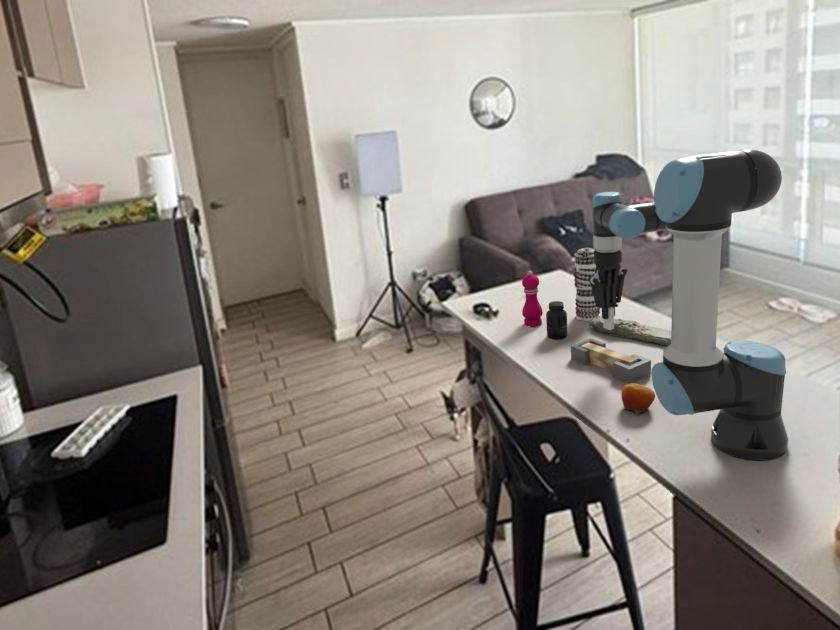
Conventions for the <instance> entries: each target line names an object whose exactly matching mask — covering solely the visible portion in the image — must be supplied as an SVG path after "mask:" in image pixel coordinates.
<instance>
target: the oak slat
mask: <svg viewBox="0 0 840 630" xmlns="http://www.w3.org/2000/svg"><path fill="white" fill-rule="evenodd" d="M581 347H582V348H585V349H587V350H589V364H590V363H591V365H593V364H594V366H596V365H597V367H599V368H602V367H603V368H602V369H605V370H607V371H610V370H611V372H613V362H616V361H618V362H620V363H623V364H625V365H628V366H630V365H633V364H635V363H637V362H638V358H636V357H632V356H630V355H629V354H626V353H623V352H619V351H616V350H612V349H609V348H607V347H606V348H604V347H601V346H598V345H595V344H592V343H586V344H584V345H582V346H581Z"/></svg>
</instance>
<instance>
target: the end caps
mask: <svg viewBox="0 0 840 630" xmlns="http://www.w3.org/2000/svg"><path fill="white" fill-rule="evenodd" d="M586 343H592V344H595V345H598V346H601V347H604V348H607V345H606V343H605V342H603V341H600V340H597V339H594V338H592V337H591V338H587V339H585V340H582V341H580V342H577V343H574V344H573V345H572V344H571V345H570V360H572V361H575V362H576V363H578V364H581V365H584V366H586V365H589V364H590V363H589V350H587V349H585V348H582V347H581V346H582V345H584V344H586ZM629 356H632V357H636V358H638V362H637V363H635V364H633V365H630V366H628V365H625V364H623V363H620V362H618V361H616V362H613V371H612V378H615V379H617V380H619V381H622V382H624V383H626V384H627V385H628V384H631V383H635V382H637V381H640V380H642V379H644V378H647V377H649V376H652V375H651V372H652V360H651V359H649V358H646V357H644V356H641V355H639V354H634V353H633V354H630V355H629Z"/></svg>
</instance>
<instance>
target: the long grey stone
mask: <svg viewBox="0 0 840 630" xmlns="http://www.w3.org/2000/svg"><path fill="white" fill-rule="evenodd" d="M589 326H590V327H592V329H593V330H595V331H598V332H600V333H603V334H606V333H607V334H606V335H611V336H612V337H619V338H625V339H633V340H635V339H637V340H640V341H643V342H648V343H654V344H658V345H660V346H661V345H662V346H666V347H668V346H669V345H670V344H671V330H669V329H666V328H665V329H664V328H658V327H654V326H653V327H652V326H649V325H647V324H643V323H640V322H638V321H636V320H630V319H629V320H628V319H621V318H614V329H612V330H608V329H606V328H603V318H602V317H600V318H595V319H592V320H591V321H589Z"/></svg>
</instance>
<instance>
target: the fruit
mask: <svg viewBox="0 0 840 630" xmlns="http://www.w3.org/2000/svg"><path fill="white" fill-rule="evenodd" d="M655 398H656V392H655V390H652V389H651V388H650V387H648V386H646V385H642V384H641V383H639V384H638V383H635V382H633V383H631V384H628V383H627V384H625V385H623V387H622V390H621V401H622V406H623V407H624V411H626V410H629V411H630V410H631V411H633V412H635V413H636V415H637V417H639V413H641V412H646V411H647V410H648V409H649V408H650V407H651V405H652V404H653V402H654V401H655V400H656V399H655Z"/></svg>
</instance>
